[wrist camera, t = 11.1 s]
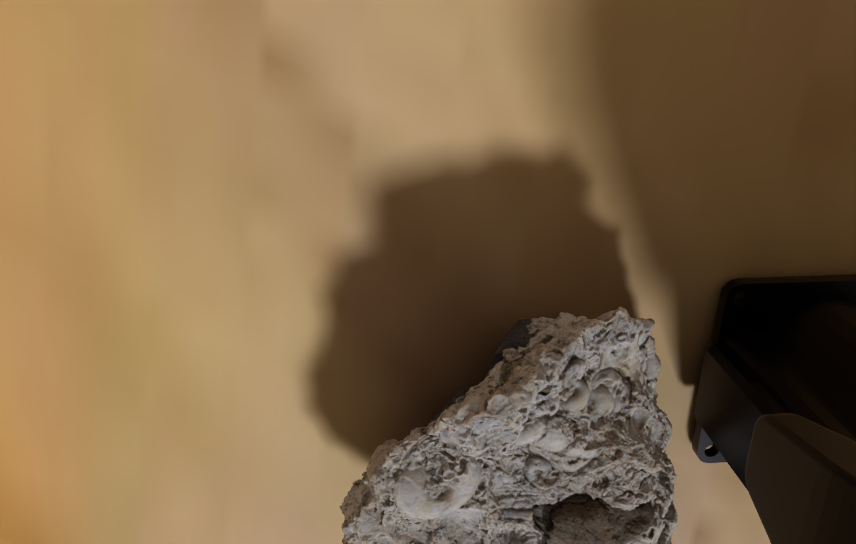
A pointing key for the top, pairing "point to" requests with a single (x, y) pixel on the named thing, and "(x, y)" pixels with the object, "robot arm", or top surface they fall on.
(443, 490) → the mineral specimen
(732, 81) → the top surface
